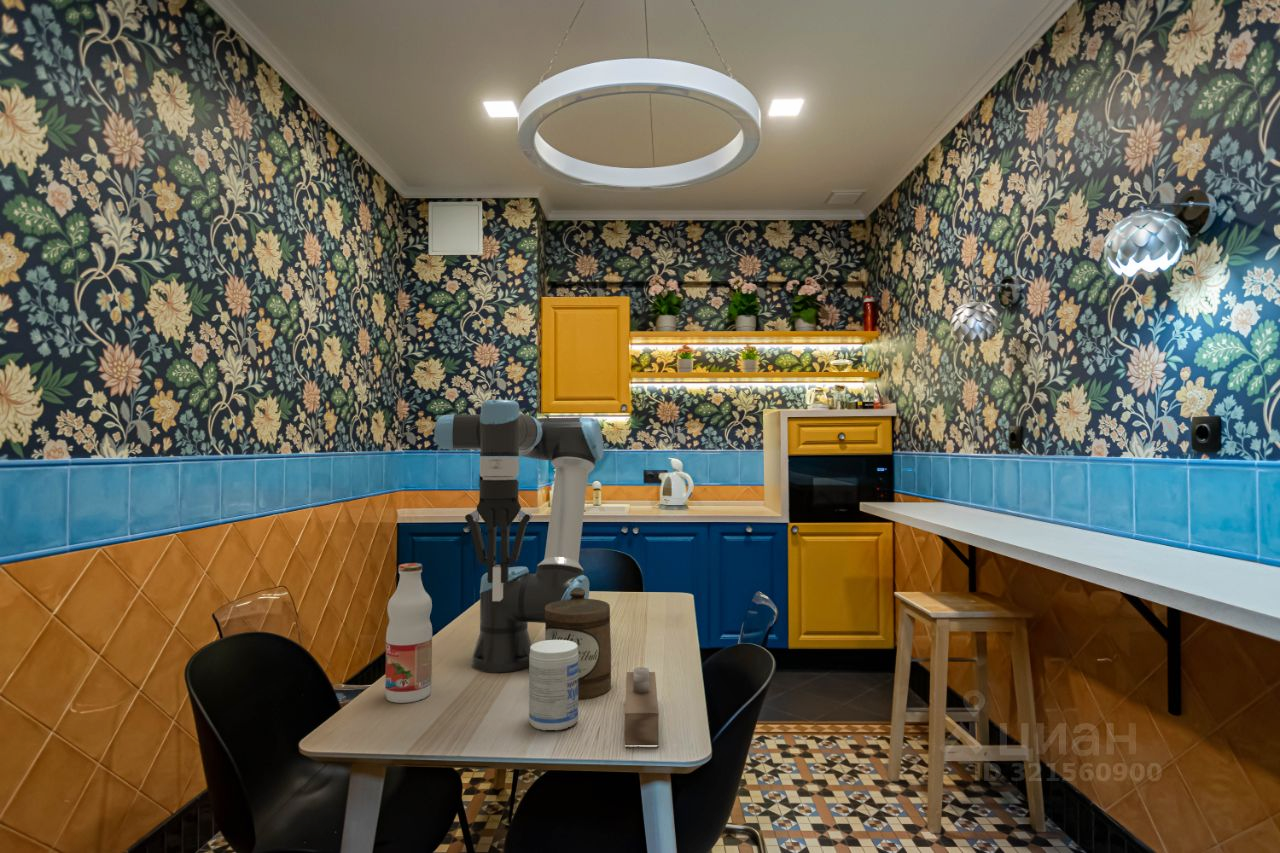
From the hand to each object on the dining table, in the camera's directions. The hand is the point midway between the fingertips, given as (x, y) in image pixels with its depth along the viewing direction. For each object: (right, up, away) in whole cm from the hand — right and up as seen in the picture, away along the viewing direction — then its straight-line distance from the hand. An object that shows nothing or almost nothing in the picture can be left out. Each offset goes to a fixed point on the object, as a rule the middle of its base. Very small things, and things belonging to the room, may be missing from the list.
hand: (497, 599), depth 128 cm
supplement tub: (+11, -24, -1) cm, 26 cm away
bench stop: (+28, -24, -1) cm, 37 cm away
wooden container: (+14, -25, +18) cm, 34 cm away
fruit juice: (-22, -24, +13) cm, 35 cm away
